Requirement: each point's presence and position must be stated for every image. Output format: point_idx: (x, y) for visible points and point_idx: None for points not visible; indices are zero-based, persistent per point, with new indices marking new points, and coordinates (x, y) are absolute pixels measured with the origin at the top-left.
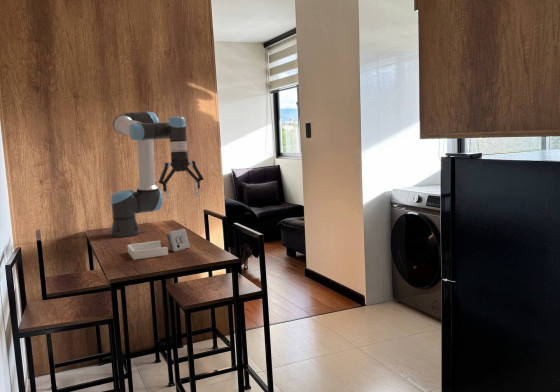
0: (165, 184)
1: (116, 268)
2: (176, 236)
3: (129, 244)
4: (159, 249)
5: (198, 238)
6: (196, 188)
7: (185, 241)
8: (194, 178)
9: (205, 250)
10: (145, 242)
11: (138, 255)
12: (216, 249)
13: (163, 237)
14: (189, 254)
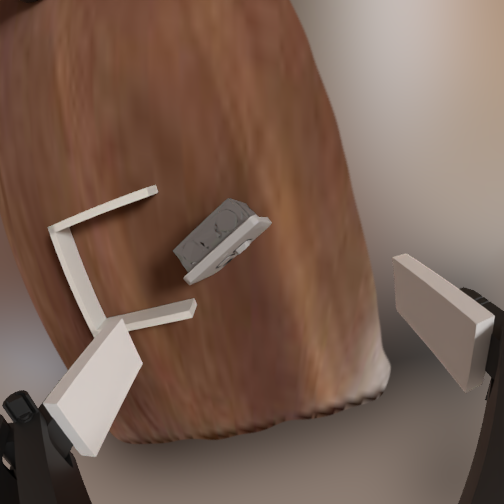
0: (72, 454)
1: None
2: (218, 264)
3: (52, 225)
4: (166, 321)
5: (306, 58)
6: (431, 347)
7: (256, 235)
8: (483, 421)
9: (326, 281)
10: (96, 207)
11: None
12: (363, 278)
13: (161, 5)
14: (269, 319)
